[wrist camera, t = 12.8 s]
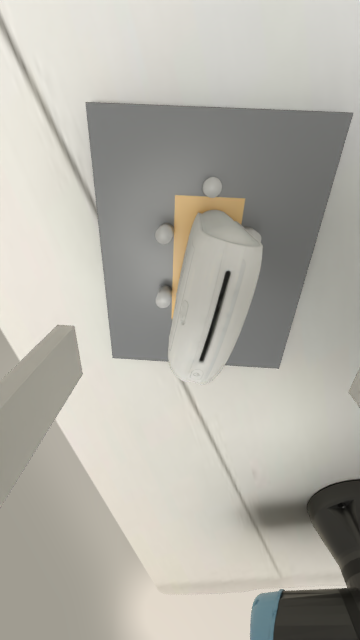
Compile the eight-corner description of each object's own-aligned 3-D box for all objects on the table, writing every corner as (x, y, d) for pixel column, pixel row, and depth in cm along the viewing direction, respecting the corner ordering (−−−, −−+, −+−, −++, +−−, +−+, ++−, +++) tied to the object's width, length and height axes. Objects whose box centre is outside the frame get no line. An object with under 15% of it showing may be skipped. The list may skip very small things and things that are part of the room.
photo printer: (211, 316, 27) (223, 406, 16) (172, 308, 27) (157, 393, 16) (242, 215, 22) (290, 244, 11) (194, 204, 22) (195, 222, 11)
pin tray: (344, 116, 20) (374, 102, 16) (275, 362, 31) (285, 383, 28) (91, 106, 20) (71, 91, 17) (115, 352, 31) (106, 371, 28)
